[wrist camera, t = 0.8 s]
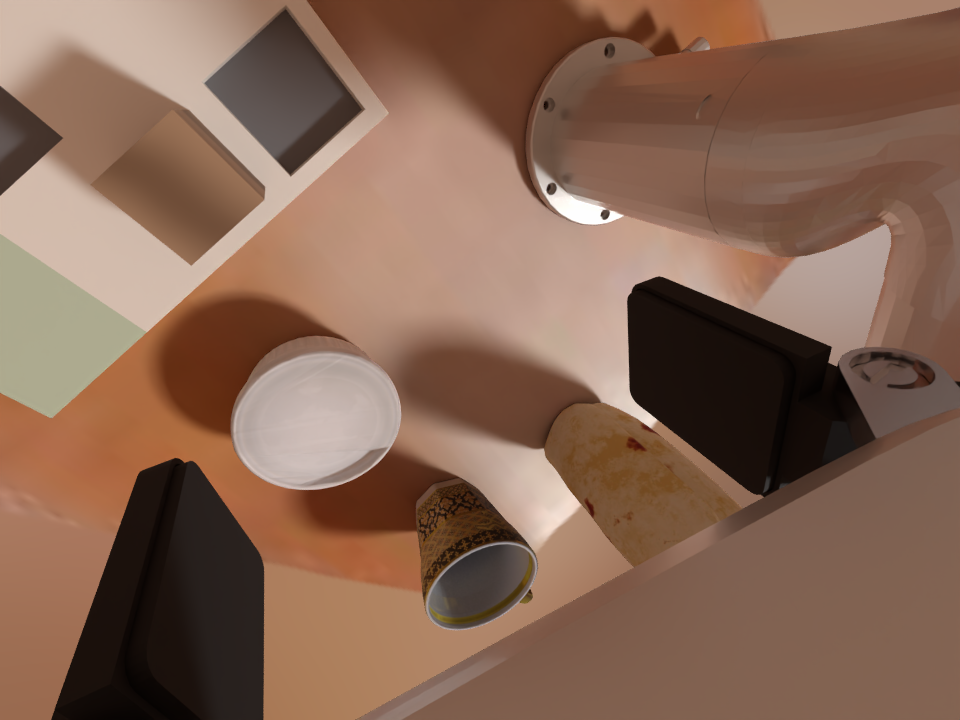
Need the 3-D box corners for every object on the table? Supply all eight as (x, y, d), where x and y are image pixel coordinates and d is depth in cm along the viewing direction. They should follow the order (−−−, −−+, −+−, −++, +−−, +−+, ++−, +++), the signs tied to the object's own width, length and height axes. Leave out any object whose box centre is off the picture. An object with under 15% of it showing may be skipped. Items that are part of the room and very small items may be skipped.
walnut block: (188, 110, 25) (172, 109, 21) (265, 186, 28) (264, 199, 24) (119, 172, 25) (90, 184, 21) (202, 243, 28) (191, 265, 24)
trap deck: (140, -218, 21) (132, -238, 19) (384, 113, 30) (389, 113, 28) (-318, 208, 21) (-354, 214, 20) (60, 405, 30) (51, 418, 29)
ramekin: (288, 471, 39) (290, 517, 34) (199, 369, 33) (188, 408, 28) (409, 405, 40) (426, 441, 36) (346, 296, 34) (357, 322, 30)
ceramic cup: (375, 522, 44) (399, 615, 36) (446, 447, 44) (487, 525, 35) (464, 562, 52) (501, 647, 43) (527, 498, 51) (576, 572, 43)
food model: (547, 468, 50) (683, 642, 33) (525, 427, 46) (666, 601, 30) (622, 417, 51) (790, 564, 34) (606, 374, 47) (787, 514, 31)
